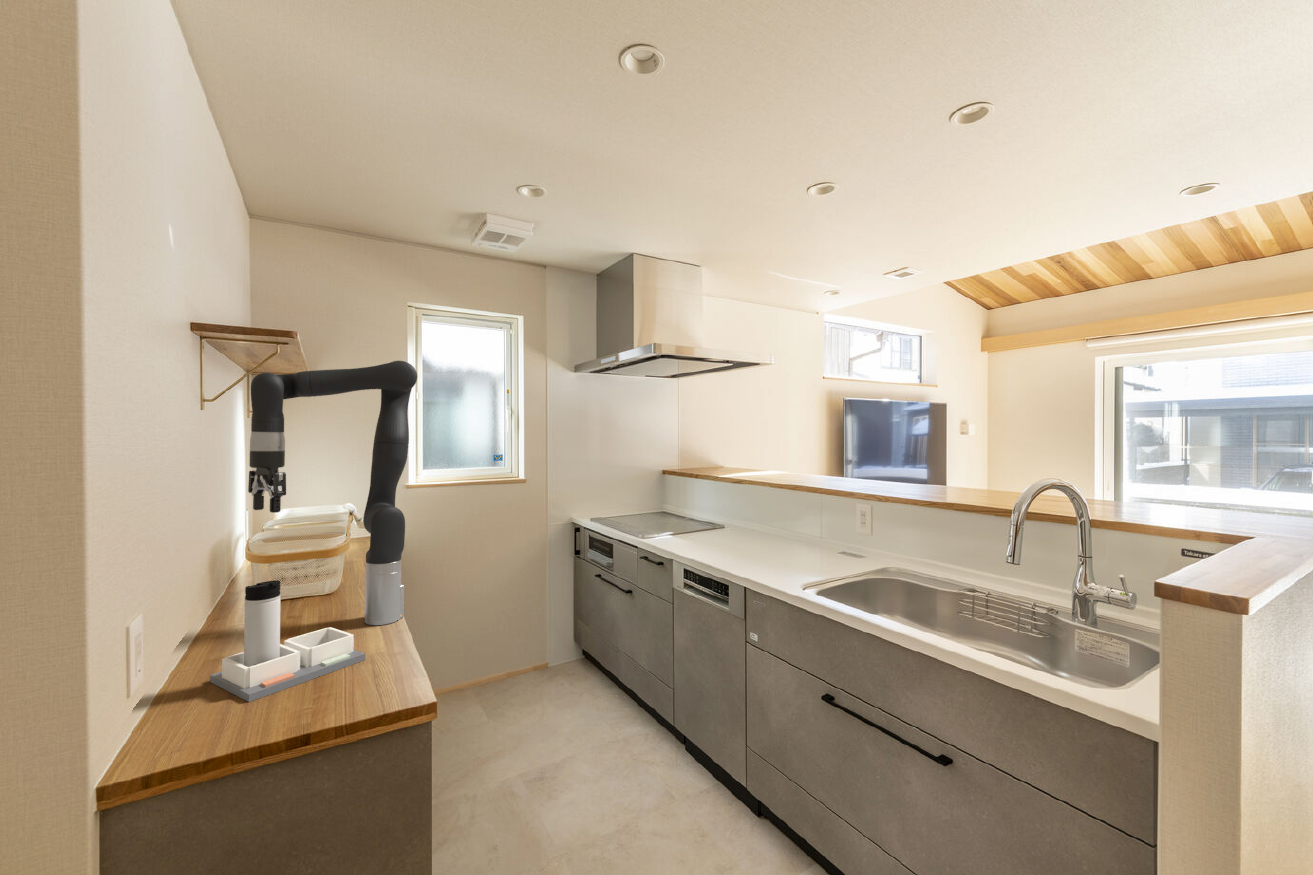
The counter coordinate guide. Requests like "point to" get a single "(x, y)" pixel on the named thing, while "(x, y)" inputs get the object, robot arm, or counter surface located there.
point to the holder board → (289, 664)
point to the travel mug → (262, 623)
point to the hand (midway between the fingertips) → (266, 510)
